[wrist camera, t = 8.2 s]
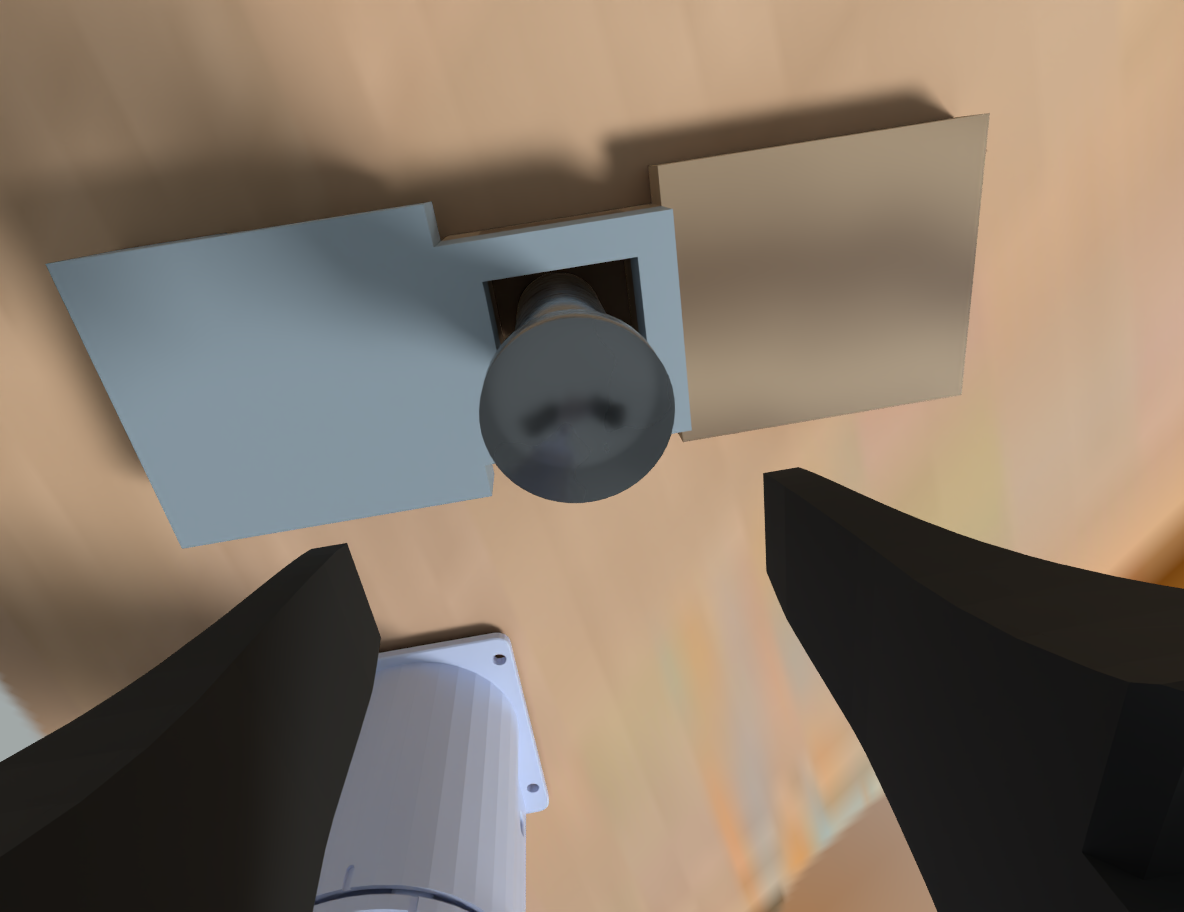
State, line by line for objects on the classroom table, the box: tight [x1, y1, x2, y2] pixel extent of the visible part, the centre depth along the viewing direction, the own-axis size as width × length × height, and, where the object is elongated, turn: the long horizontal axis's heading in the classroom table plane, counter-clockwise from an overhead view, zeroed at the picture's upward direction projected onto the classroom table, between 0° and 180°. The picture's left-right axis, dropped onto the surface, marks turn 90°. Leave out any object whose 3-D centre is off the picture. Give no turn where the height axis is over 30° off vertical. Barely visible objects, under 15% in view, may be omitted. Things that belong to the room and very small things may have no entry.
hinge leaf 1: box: [46, 202, 692, 549], centre depth 18 cm, size 8×15×3 cm, turn 98°
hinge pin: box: [479, 272, 675, 503], centre depth 16 cm, size 4×4×9 cm
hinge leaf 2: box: [442, 113, 990, 442], centre depth 19 cm, size 8×15×2 cm, turn 98°
